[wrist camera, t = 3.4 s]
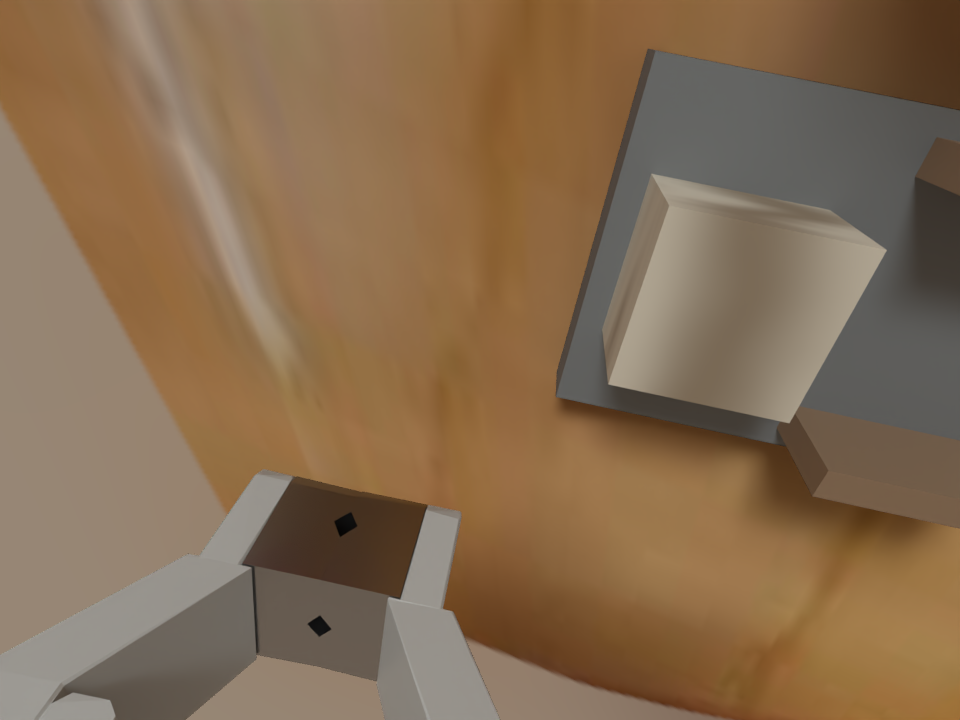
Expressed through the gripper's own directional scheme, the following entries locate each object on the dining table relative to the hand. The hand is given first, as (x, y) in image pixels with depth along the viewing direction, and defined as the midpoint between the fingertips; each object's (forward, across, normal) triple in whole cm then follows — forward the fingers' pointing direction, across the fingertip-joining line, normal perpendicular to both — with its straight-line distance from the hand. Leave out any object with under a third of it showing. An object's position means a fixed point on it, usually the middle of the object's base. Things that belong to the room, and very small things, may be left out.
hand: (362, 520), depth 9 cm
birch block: (+14, -8, 0) cm, 17 cm away
